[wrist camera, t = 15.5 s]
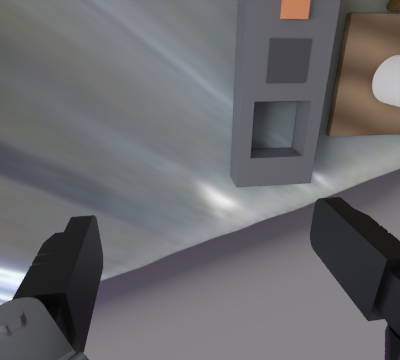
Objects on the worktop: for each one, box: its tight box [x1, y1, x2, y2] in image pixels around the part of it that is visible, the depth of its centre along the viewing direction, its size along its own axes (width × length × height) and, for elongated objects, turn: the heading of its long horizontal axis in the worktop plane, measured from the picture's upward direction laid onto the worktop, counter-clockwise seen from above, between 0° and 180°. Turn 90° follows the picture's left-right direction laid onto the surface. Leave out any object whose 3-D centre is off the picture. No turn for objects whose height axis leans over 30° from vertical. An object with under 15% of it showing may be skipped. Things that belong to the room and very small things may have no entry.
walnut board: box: [326, 13, 400, 136], centre depth 43 cm, size 16×16×1 cm
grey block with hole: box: [230, 0, 341, 187], centre depth 40 cm, size 24×11×5 cm, turn 0°
